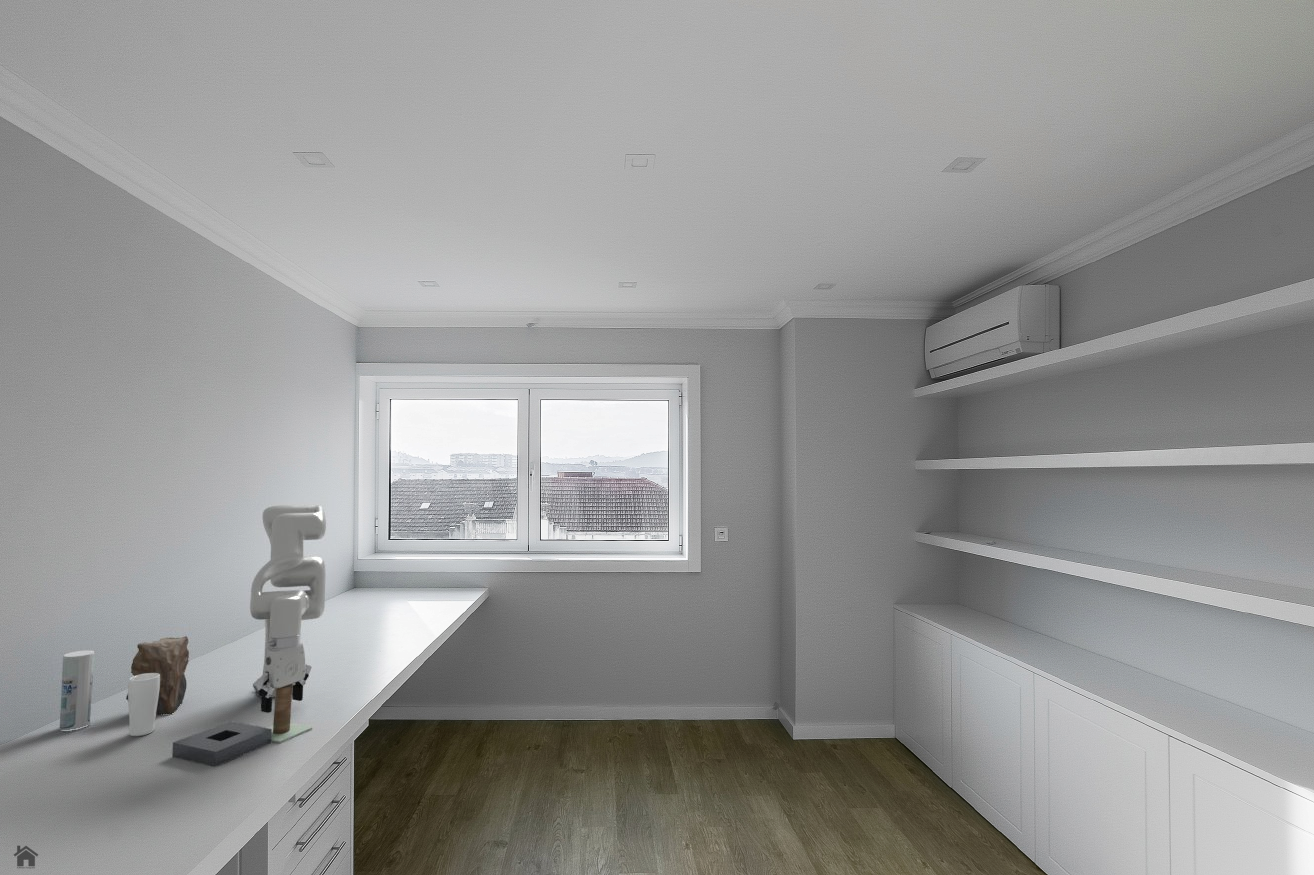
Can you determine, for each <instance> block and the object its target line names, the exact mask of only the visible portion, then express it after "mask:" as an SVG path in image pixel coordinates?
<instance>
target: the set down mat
mask: <svg viewBox="0 0 1314 875" xmlns="http://www.w3.org/2000/svg"><path fill="white" fill-rule="evenodd" d="M267 728H269V729H272V734H271V743H275V744H282V743H284V742H287V741H288V739H289V740H290V739H293V738H295V736H296V737H298V736H300V735H303V734H304V732H305V733H307V732H309V731H311V730H310V729H312V730H313V727H311V726H306V725H300V724H296V723H291V722H290V731H288V732H286V733H282V734H274V733H273V725H271V726H269V727H267ZM308 730H309V731H308ZM306 731H307V732H306ZM302 733H303V734H302ZM297 735H298V736H297ZM286 740H287V741H286Z"/></svg>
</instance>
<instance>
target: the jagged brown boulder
mask: <svg viewBox="0 0 1314 875" xmlns="http://www.w3.org/2000/svg"><path fill="white" fill-rule="evenodd" d="M188 644H189V638H188V636H187V635H185V636H183V637H182V636H181V637H171V636H170V637H163V638H160V639H159V640H155V641H150V642H142V643H138V644H137V649H138V651H137V653H135V656H134V657H133V659H132V663H131V667H130V669H131V672H130V673H131V674H132V675H133V676H136V675H140V674H146V673H158V674H160V690H159V697H158V704H157V710H156V714H157V715H156V716H164V715H163V714H171V715H173V714H172V713H174V712H175V713H176V711H177V710H178V709H179V708H180V707H181V705H182V704H183V700H184V698H185V695H186V691H187V687H188V686H187V684H188V683H187V678H186V675H185V672H186V669H187V666H188V665H189V662H190V660H189V656H190V651H189V650H188ZM125 700H127V701H128V693H127V694H126V698H125ZM180 704H181V705H180ZM179 706H180V707H179ZM178 707H179V708H178ZM175 713H174V714H175ZM161 714H162V715H161Z"/></svg>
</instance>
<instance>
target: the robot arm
mask: <svg viewBox="0 0 1314 875" xmlns="http://www.w3.org/2000/svg"><path fill="white" fill-rule="evenodd" d="M324 510H325V509H324V508H323V507H322V506H321V505H318V504H281V505H272V506H268V507H266V508H265V509H264V510H263V512H262V524H263V527H264V531H265V532H266V534H267V537H268V540H269V543H270V560H269V561H268V562H266V563H265V564H264V565H263V566H262V567H261V568H260V569H259V571H258V572H257V573H256V575H255V576H254V578H253V581H252V583H251V589H250V601H249V602H250V603H249V612H250V615H251V617H252V618H253V619H255V620H258V621H259V620H260V621H261V620H263V621H264V626H265V628H264V631H265V634H264V635H265V637H264V657H263V658H264V662H263V668H262V675H261V676H260V677H258V678H257V679H256V681H254V682H253V683H252V687H253V689H254V691H255V694H257V696H259V698H260V711H261V712H262V713H266V714H270V713H272V711H273V698H275V691H276V689H278V688H282V687H285V686H287V685H290V684H293V687H292V700H293V701H298V702H301V701H303V700H304V697H303V696H304V686H305V685H306V684H307V682H306V681H307V680H308V679H309V677H310V675H309V674H310V672H311V670H312V668H313V667H312V666H311V665H308V664H306V655H305V648H304V645H303V643H301V639H302V638H301V636H302V635H301V634H302V621H306V620H308V621H309V620H315V619H319V618H321V617H323V614H324V612H325V607H326V606H325V605H326V604H325V603H326V564H325V561H324V560H323V558H321V557H320V556H304V541H312V540H313V541H315V540H316V541H317V540H321V539H323V537H325V534H326V530H327V520H326V515H325V511H324ZM268 581H270V584H271V586H273V587H275V588H296V587H299V588H300V587H308V588H309V589H305V590H301V589H293V590H292V589H291V590H274V591H263V588H264V585H265V584H266V583H267V582H268Z"/></svg>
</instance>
